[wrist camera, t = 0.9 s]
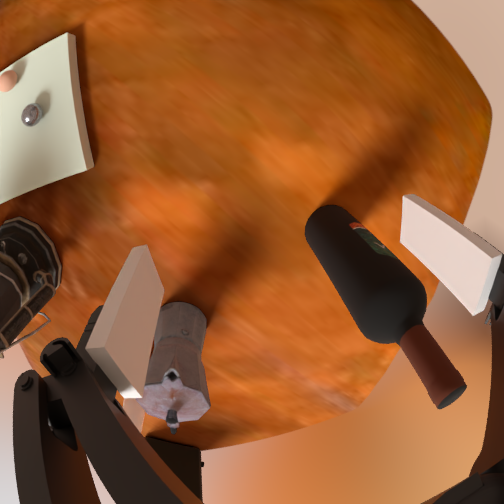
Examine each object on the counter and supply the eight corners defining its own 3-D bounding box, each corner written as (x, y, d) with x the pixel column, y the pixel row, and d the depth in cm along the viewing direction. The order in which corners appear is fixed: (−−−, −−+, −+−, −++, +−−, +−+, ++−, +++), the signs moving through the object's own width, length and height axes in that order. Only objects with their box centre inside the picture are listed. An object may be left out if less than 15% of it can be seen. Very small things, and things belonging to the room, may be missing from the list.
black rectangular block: (173, 473, 84) (173, 525, 62) (126, 462, 78) (121, 515, 56) (208, 446, 71) (212, 517, 49) (147, 432, 65) (141, 508, 43)
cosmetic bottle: (139, 379, 53) (125, 471, 33) (121, 362, 50) (100, 458, 30) (161, 373, 52) (151, 471, 33) (144, 356, 49) (126, 458, 30)
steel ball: (28, 107, 25) (15, 109, 22) (45, 98, 25) (32, 99, 22) (31, 128, 26) (18, 131, 24) (48, 120, 26) (35, 122, 24)
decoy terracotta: (6, 76, 21) (-7, 76, 19) (20, 66, 21) (7, 65, 19) (7, 95, 23) (-6, 96, 20) (22, 86, 23) (8, 86, 20)
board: (-35, 107, 22) (-44, 109, 20) (75, 35, 23) (67, 32, 21) (-16, 210, 32) (-24, 215, 30) (94, 166, 33) (86, 170, 31)
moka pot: (211, 287, 43) (212, 398, 26) (209, 354, 50) (211, 451, 33) (151, 283, 42) (120, 390, 24) (158, 351, 49) (145, 446, 31)
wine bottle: (302, 209, 39) (427, 389, 13) (351, 201, 39) (504, 345, 13) (306, 256, 43) (398, 438, 16) (352, 246, 43) (468, 402, 16)
